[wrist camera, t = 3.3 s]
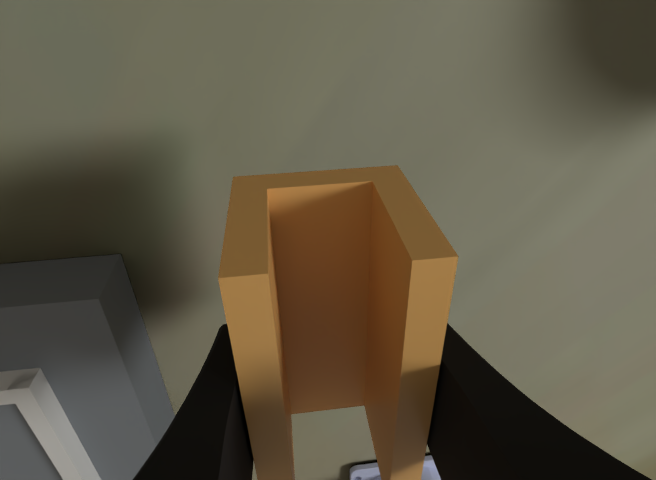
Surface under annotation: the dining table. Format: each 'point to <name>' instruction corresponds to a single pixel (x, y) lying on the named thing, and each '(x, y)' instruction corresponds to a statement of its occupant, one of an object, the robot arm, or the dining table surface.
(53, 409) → the large grey panel
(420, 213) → the chute
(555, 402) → the dining table surface
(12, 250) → the dining table surface
